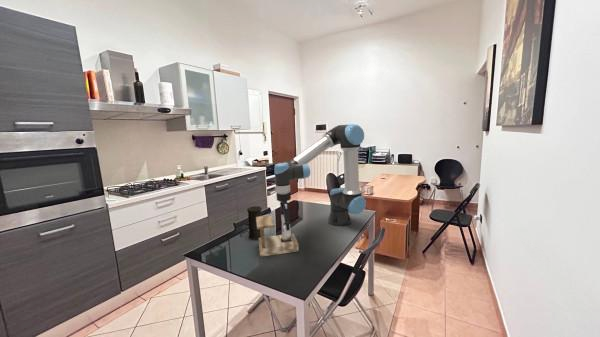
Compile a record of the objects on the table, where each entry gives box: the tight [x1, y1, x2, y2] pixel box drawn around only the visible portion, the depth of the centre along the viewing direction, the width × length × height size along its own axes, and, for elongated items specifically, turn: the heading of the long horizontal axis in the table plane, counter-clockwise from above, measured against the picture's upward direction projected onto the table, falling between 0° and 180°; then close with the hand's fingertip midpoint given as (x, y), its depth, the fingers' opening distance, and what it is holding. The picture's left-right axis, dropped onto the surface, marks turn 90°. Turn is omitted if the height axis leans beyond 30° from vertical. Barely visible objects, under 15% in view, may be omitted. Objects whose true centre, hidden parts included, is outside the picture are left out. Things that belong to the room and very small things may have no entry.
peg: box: [280, 224, 290, 243], centre depth 133 cm, size 4×4×12 cm
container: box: [247, 205, 263, 241], centre depth 147 cm, size 9×9×18 cm
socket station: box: [256, 215, 300, 258], centre depth 132 cm, size 20×15×16 cm
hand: (286, 230), depth 133 cm, fingers open, 13 cm apart
